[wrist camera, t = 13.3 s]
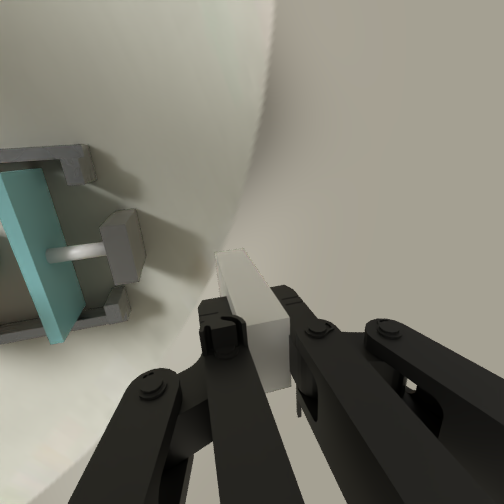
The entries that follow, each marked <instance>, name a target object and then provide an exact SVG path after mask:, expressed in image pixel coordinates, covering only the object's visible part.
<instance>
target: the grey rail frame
mask: <svg viewBox="0 0 504 504" xmlns="http://www.w3.org/2000/svg"><path fill="white" fill-rule="evenodd" d="M52 159H60V162H61V165H62V169H63V172H64V175H65V179H66V182H67V185H68V186H71V185H82V184H87V183H90V182H93V181H95V180H97V177H96V173H95V169H94V165H93V161H92V157H91V154H90V150H89V146H88V145H84V144H78V145H61V146H44V147H27V148H11V149H0V163H9V162H23V161H38V160H52ZM130 312H131V308H130V304H129V300H128V297H127V293H126V289H125V286H122V287H116V288H112V289H111V292H110V294H109V296H108V298H107V300H106V302H105V304H104V307H99V308H94V309H88V310H82V312H81V314H80V315H79V317H78V319H77V321H76V322H75V324H74V326H73V327H72V329H71V331H74V330H80V329H85V328H90V327H95V326H101V325H106V324H114V323H119V322H123V321H127V320H128V319H129V316H130ZM42 336H47V335H46V332H45V330H44V327H43V325H42V322H41V320H40V318H37V319H31V320H26V321H20V322H14V323H9V324H3V325H0V344H5V343H11V342H16V341H21V340H27V339H32V338H37V337H42Z"/></svg>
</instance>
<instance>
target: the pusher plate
mask: <svg viewBox="0 0 504 504" xmlns="http://www.w3.org/2000/svg"><path fill="white" fill-rule="evenodd" d="M0 220H1V223H2V225H3V228H4V230H5V233H6V235H7V238H8V240H9V243H10V245H11V248H12V250H13V253H14V255H15V257H16V260H17V262H18V265H19V267H20V270H21V272H22V275H23V277H24V280H25V282H26V285H27V287H28V290H29V292H30V295H31V297H32V300H33V302H34V305H35V307H36V310H37V312H38V315H39V317H40V320H41V322H42V325H43V327H44V330H45V332H46V335H47V337H48V340H49V342H50V344H57V343H62V342H64V341H65V339H66V338H67V336H68V334H69V332H70V331H71V329H72V327H73V326H74V324H75V322H76V321H77V319H78V317H79V315H80V314H81V312H82V310H83V309H84V307H85V305H86V303H85V300H84V297H83V294H82V291H81V288H80V285H79V282H78V279H77V276H76V272H75V269H74V266H73V263H72V261H73V260H80V259H87V258H94V257H101V256H107V259H108V262H109V266H110V270H111V273H112V277H113V281H114V284H115V286H116V285H122V284H128V283H134V282H139V280H140V276H141V272H142V269H143V265H144V262H145V258H146V253H145V248H144V243H143V239H142V234H141V230H140V225H139V221H138V216H137V211H136V209H127V210H118V211H115V212H114V213H113V214H112V215H111V216H110V217H109V218H108V219H107V220H106V221H105V222H104V223H103V224H102V225H101V226H100V227H99V229H100V233H101V237H102V240H103V242H96V243H89V244H81V245H73V246H67V245H66V242H65V239H64V235H63V232H62V229H61V226H60V223H59V220H58V217H57V214H56V211H55V208H54V205H53V202H52V198H51V195H50V192H49V189H48V186H47V183H46V180H45V177H44V174H43V171H42V168H34V169H24V170H16V171H7V172H0Z"/></svg>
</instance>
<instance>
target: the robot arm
mask: <svg viewBox="0 0 504 504" xmlns="http://www.w3.org/2000/svg"><path fill="white" fill-rule="evenodd" d="M215 259H216V267H217V276H218V284H219V291H220V297H218V298H213V299H208V300H202V302H201V303H200V305H199V307H198V313H199V322H200V330H199V335H200V342H201V348H202V354H201V357H200V358H199V360H198V361H197V362H196V363H195V364H194V365H193V366H192V367H190V368H188V369H186V370H185V371H183V372H181V373H179V374H176V372H174V371H172V370H170V369H165V368H158V369H153V370H150V371H147V372H145V373H143V374H141V375H140V376H138V377H137V378H136V379H134V380H133V381H132V382H131V384H130V385H129V386H128V388H127V389H126V391H125V393H124V395H123V397H122V399H121V401H120V403H119V405H118V407H117V408H116V410H115V412H114V414H113V416H112V418H111V420H110V422H109V424H108V426H107V428H106V430H105V432H104V434H103V436H102V438H101V440H100V442H99V444H98V445H97V447H96V449H95V452H94V454H93V455H92V457H91V459H90V461H89V463H88V465H87V467H86V469H85V471H84V473H83V475H82V477H81V479H80V480H79V482H78V485H77V486H76V489H75V490H74V492H73V494H72V496H71V498H70V500H69V502H68V504H185V502H186V496H187V491H188V485H189V480H190V474H191V469H192V464H193V458H194V453H196V452H197V451H199V450H200V449H202V448H203V447H204V446H206V445H208V444H209V443H211V442H212V441H213V446H214V454H215V463H216V471H217V480H218V488H219V497H220V504H305V503H304V501H303V498H302V495H301V492H300V489H299V487H298V484H297V481H296V478H295V475H294V473H293V470H292V467H291V464H290V461H289V459H288V456H287V453H286V450H285V448H284V445H283V442H282V439H281V436H280V434H279V431H278V428H277V425H276V423H275V420H274V417H273V414H272V411H271V409H270V406H269V403H268V400H267V398H266V395H265V393H268V392H272V391H276V390H279V389H284V388H288V387H291V375H292V377H293V379H294V380H295V383H296V394H297V395H296V399H297V415H298V417H301V408H302V410H303V412H304V414H305V416H306V418H307V420H308V422H309V424H310V426H311V429H312V430H313V433H314V435H315V437H316V439H317V441H318V443H319V445H320V447H321V450H322V451H323V454H324V456H325V458H326V460H327V462H328V464H329V466H330V469H331V471H332V473H333V475H334V477H335V479H336V481H337V483H338V485H339V488H340V490H341V491H342V494H343V496H344V498H345V500H346V502H347V504H504V379H503V378H501V377H499V376H497V375H496V374H494V373H492V372H490V371H488V370H487V369H485V368H483V367H481V366H479V365H477V364H476V363H474V362H472V361H470V360H468V359H466V358H464V357H463V356H461V355H459V354H457V353H455V352H454V351H452V350H450V349H448V348H446V347H444V346H442V345H441V344H439V343H437V342H435V341H433V340H431V339H430V338H428V337H426V336H424V335H423V334H421V333H419V332H417V331H415V330H413V329H411V328H410V327H408V326H406V325H404V324H402V323H399V322H397V321H395V320H390V319H374V320H371V321H369V322H368V323H367V324H366V327H365V332H363V333H362V332H358V333H357V332H341V331H340V330H339V329H338V328H337V327H336V326H335V325H334V324H332V323H331V322H329V321H326V320H322V319H318V318H317V317H316V316H315V315H314V314H313V312H312V311H311V310H310V309H309V308H308V307H307V305H306V304H305V303H304V302H303V300H302V299H301V298H300V297H299V296H298V295H297V293H296V292H295V291H294V290H293V289H291V288H290V287H287V286H286V285H281V286H275V287H269V286H268V284H267V283H266V281H265V280H264V278H263V277H262V275H261V274H260V272H259V271H258V269H257V268H256V266H255V265H254V264H253V262H252V260H251V259H250V257H249V256H248V254H247V253H246V251H245V250H244V249H243V248H242V249H235V250H228V251H221V252H215ZM407 378H408V379H409V380H411V381H412V382H413V383H415V384H416V385H417V388H416V390H412V389H410V388H408V387H407V386H406V382H407Z"/></svg>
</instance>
